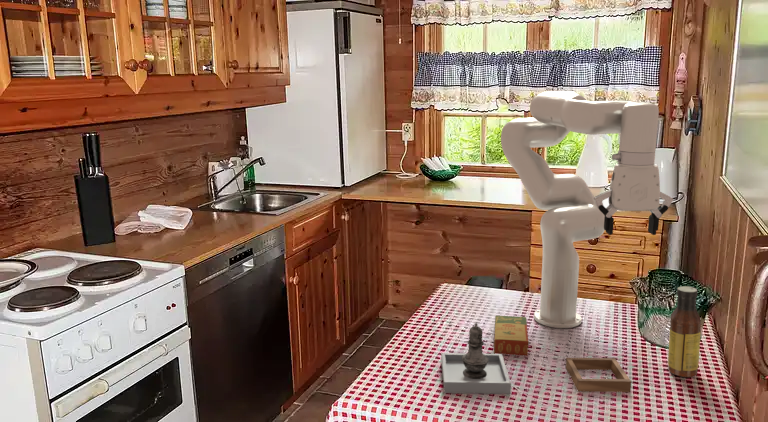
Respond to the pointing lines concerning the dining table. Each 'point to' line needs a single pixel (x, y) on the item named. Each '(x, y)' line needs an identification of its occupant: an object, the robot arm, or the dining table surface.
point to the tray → (490, 384)
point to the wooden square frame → (598, 384)
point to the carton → (511, 335)
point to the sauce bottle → (684, 335)
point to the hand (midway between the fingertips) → (630, 233)
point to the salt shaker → (475, 355)
